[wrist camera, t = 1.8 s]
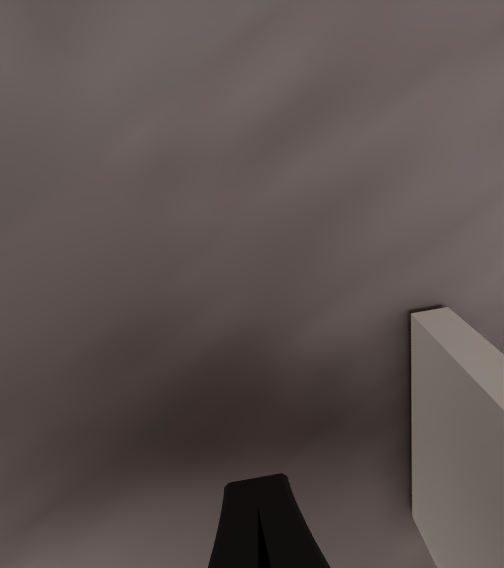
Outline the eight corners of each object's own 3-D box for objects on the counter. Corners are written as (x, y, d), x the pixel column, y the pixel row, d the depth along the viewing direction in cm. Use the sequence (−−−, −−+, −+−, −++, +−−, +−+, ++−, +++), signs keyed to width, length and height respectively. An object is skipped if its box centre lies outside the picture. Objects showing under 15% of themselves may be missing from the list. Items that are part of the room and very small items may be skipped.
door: (447, 307, 11) (607, 442, 7) (441, 511, 14) (550, 702, 10) (411, 313, 11) (545, 453, 7) (412, 516, 14) (506, 710, 10)
